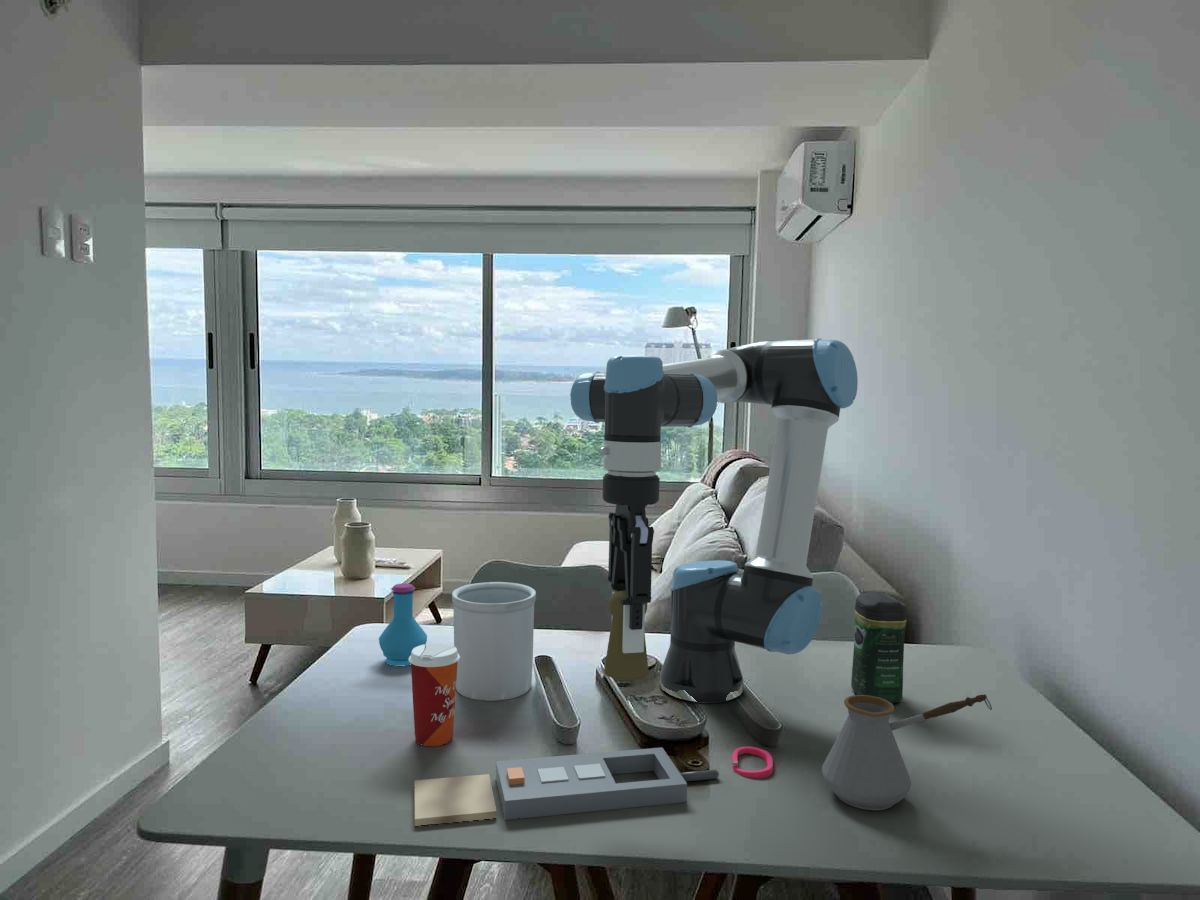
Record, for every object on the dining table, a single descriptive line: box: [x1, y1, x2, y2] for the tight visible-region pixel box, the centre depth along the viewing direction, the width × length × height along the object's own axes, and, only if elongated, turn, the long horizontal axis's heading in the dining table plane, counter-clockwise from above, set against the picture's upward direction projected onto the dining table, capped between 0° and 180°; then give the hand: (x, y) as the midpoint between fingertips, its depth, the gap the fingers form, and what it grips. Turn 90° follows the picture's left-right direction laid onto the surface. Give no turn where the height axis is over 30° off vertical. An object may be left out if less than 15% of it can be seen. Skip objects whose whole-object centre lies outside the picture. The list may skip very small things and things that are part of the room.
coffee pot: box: [821, 694, 993, 811], centre depth 109 cm, size 21×12×15 cm, turn 84°
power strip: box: [495, 747, 720, 821], centre depth 111 cm, size 31×11×3 cm, turn 103°
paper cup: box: [409, 642, 460, 747], centre depth 125 cm, size 8×8×14 cm
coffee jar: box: [850, 590, 908, 704], centre depth 146 cm, size 10×8×19 cm
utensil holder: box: [451, 581, 537, 702], centre depth 147 cm, size 15×15×18 cm
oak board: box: [414, 773, 497, 827], centre depth 106 cm, size 10×10×1 cm
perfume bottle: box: [378, 582, 428, 665], centre depth 160 cm, size 9×9×15 cm
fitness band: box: [731, 746, 774, 779], centre depth 119 cm, size 8×6×2 cm
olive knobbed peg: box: [603, 590, 649, 681], centre depth 110 cm, size 6×6×11 cm
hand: (626, 644), depth 110 cm, fingers closed on olive knobbed peg, 5 cm apart
